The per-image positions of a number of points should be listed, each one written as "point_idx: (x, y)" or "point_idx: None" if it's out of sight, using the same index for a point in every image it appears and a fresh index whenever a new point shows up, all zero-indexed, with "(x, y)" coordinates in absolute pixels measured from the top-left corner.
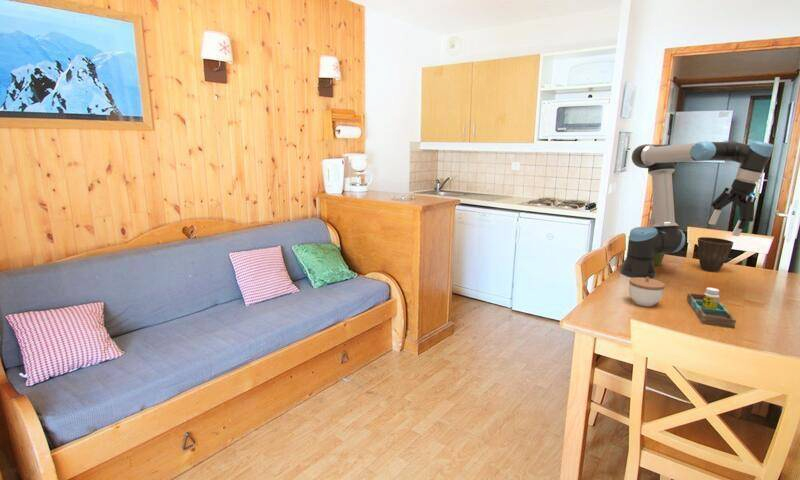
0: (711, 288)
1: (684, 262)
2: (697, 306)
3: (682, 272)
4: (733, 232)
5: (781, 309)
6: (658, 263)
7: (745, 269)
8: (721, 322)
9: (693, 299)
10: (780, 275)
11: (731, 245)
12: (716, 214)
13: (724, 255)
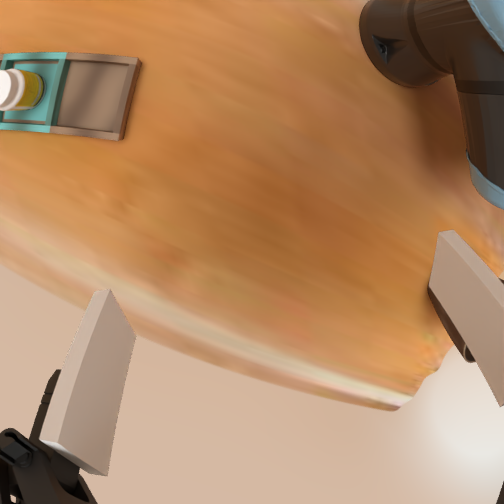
0: (1, 85)
1: (488, 248)
2: (12, 54)
3: (432, 197)
4: (92, 311)
5: (127, 309)
6: None
7: (431, 353)
8: None
9: (68, 55)
10: (390, 395)
11: (461, 353)
12: (492, 337)
13: (446, 324)
